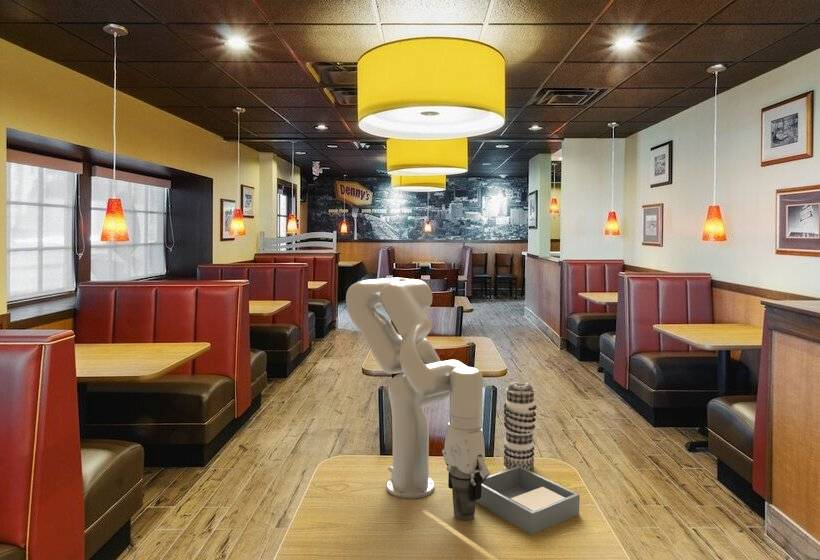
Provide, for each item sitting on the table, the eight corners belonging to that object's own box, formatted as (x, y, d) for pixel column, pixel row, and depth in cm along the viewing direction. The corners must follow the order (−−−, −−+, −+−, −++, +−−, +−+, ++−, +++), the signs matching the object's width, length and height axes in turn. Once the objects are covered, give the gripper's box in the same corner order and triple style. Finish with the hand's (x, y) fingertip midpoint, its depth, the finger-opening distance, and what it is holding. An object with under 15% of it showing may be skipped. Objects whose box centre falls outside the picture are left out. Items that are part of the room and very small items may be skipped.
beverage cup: (478, 529, 139) (479, 446, 137) (446, 525, 141) (447, 443, 138) (480, 513, 146) (482, 434, 144) (450, 510, 148) (451, 432, 145)
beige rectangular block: (510, 514, 144) (510, 498, 144) (542, 501, 150) (542, 486, 150) (535, 528, 137) (535, 512, 137) (567, 515, 144) (567, 499, 143)
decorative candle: (525, 461, 177) (527, 378, 174) (541, 474, 168) (543, 387, 166) (497, 465, 175) (498, 380, 172) (511, 478, 166) (513, 390, 163)
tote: (473, 503, 151) (473, 481, 151) (518, 487, 160) (519, 465, 160) (531, 539, 135) (532, 513, 134) (578, 518, 144) (579, 494, 143)
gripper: (430, 413, 146) (429, 483, 148) (478, 435, 131) (476, 512, 133) (454, 407, 150) (453, 475, 152) (503, 428, 136) (501, 503, 138)
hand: (464, 492), depth 143 cm, fingers closed on beverage cup, 7 cm apart
